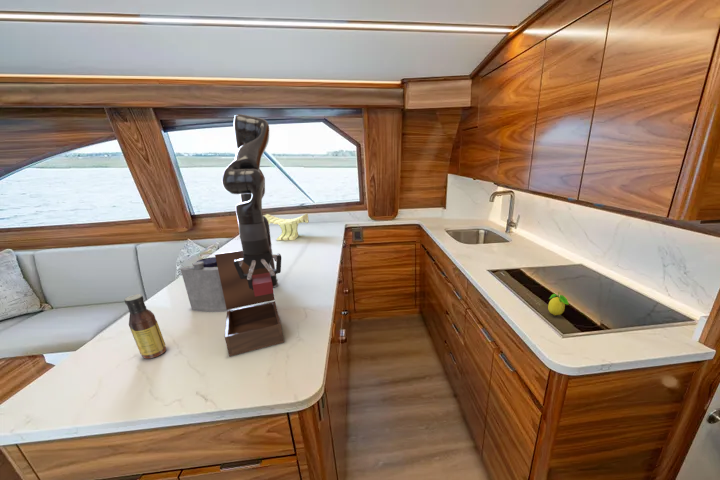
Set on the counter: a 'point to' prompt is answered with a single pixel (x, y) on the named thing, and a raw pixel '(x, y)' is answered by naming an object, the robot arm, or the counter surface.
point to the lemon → (557, 304)
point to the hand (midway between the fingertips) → (263, 287)
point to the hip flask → (203, 287)
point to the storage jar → (209, 262)
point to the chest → (252, 328)
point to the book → (262, 284)
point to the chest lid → (238, 282)
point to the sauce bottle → (144, 328)
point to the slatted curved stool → (288, 226)
